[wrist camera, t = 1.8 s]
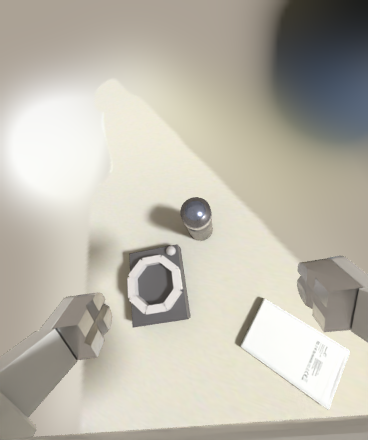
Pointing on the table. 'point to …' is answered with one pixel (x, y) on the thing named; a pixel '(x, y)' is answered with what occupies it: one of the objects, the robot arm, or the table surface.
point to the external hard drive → (296, 352)
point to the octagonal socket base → (157, 286)
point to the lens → (197, 218)
